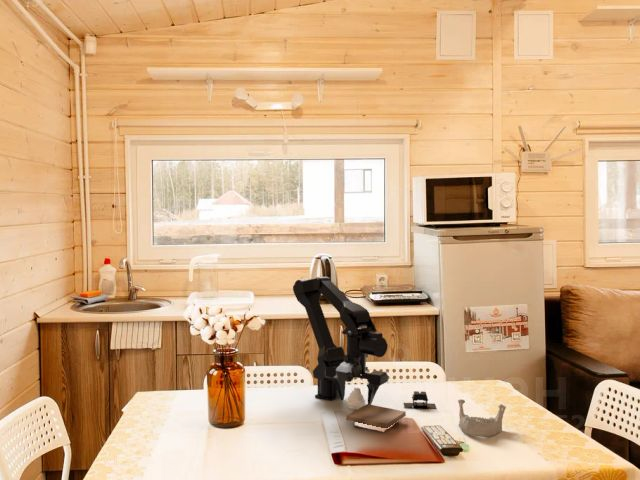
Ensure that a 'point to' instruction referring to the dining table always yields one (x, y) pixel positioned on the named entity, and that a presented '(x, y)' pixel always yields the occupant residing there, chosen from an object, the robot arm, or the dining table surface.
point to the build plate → (419, 404)
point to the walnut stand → (376, 416)
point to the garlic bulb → (356, 399)
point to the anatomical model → (480, 423)
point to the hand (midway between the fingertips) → (355, 402)
